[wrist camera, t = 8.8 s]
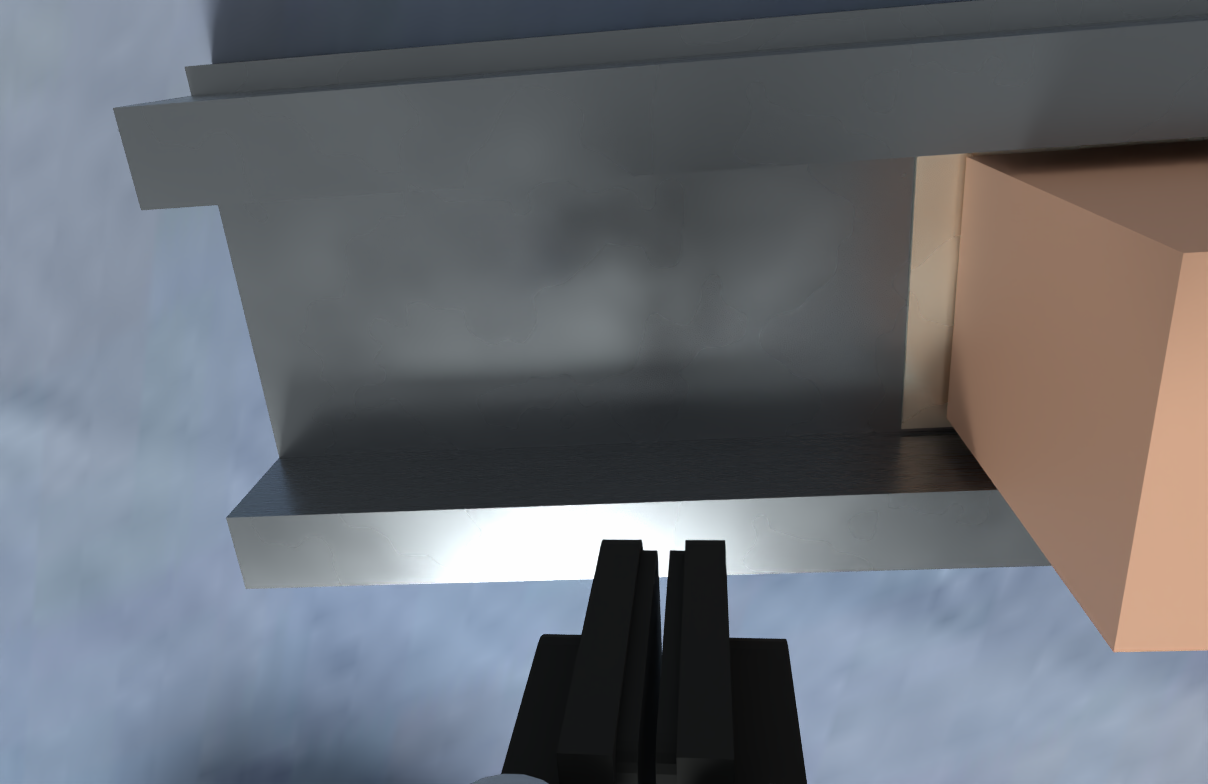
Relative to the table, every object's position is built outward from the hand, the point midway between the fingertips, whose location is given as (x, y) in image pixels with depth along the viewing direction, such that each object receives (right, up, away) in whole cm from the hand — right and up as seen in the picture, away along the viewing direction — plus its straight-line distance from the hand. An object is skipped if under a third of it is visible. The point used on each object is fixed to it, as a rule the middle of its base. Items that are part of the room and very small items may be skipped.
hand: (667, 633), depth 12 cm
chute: (+3, +5, +6) cm, 9 cm away
